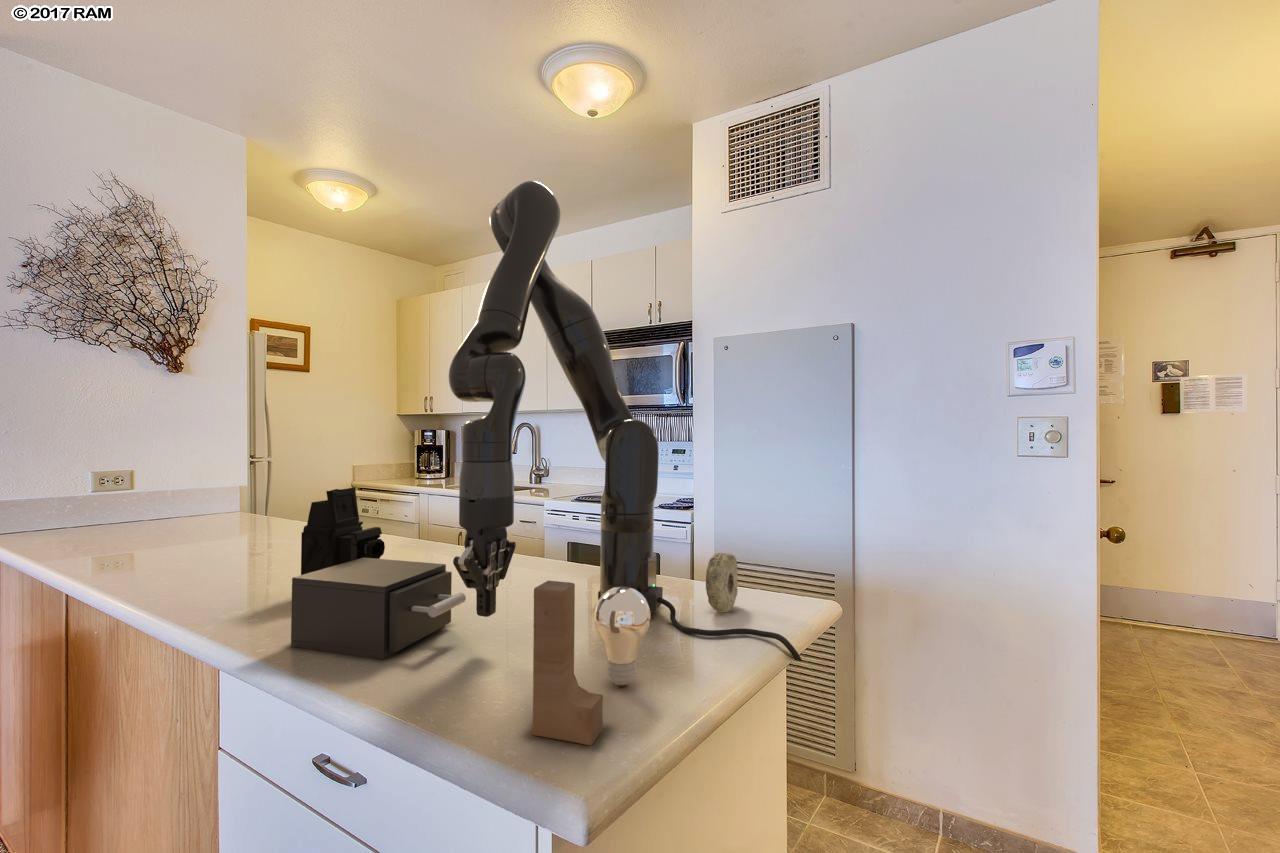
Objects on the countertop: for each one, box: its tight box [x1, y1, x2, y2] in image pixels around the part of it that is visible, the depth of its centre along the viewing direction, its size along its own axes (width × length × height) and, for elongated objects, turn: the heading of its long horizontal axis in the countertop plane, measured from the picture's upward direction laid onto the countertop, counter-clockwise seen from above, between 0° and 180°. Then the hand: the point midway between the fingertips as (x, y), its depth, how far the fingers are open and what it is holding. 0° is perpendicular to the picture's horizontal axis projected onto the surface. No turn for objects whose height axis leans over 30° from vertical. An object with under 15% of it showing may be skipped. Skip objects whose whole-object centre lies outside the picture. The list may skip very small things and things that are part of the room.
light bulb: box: [593, 586, 652, 688], centre depth 69 cm, size 7×7×12 cm
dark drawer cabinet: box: [290, 558, 447, 660], centre depth 85 cm, size 16×14×10 cm
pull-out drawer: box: [388, 570, 467, 653], centre depth 84 cm, size 19×13×8 cm, turn 74°
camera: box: [300, 486, 386, 575], centre depth 105 cm, size 10×14×20 cm
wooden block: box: [531, 580, 604, 746], centre depth 58 cm, size 7×3×15 cm, turn 73°
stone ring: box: [705, 552, 739, 613], centre depth 99 cm, size 10×4×10 cm, turn 150°
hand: (486, 614), depth 80 cm, fingers closed
